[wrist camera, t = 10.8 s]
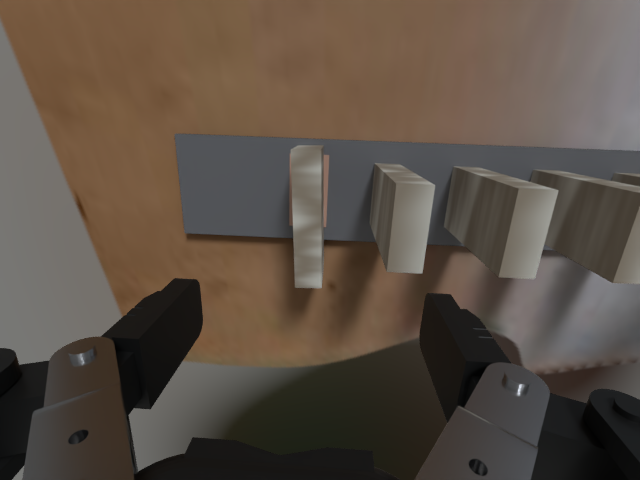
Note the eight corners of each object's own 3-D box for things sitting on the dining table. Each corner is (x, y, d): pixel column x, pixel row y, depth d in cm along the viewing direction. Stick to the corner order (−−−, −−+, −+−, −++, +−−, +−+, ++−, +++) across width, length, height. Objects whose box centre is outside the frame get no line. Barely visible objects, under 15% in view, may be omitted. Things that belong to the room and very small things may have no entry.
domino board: (679, 152, 32) (691, 153, 30) (643, 251, 35) (652, 255, 34) (179, 133, 33) (174, 133, 32) (188, 230, 36) (184, 233, 35)
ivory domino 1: (399, 164, 32) (435, 185, 21) (393, 224, 34) (422, 273, 23) (374, 163, 32) (396, 183, 21) (369, 223, 34) (386, 271, 23)
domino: (321, 149, 26) (321, 288, 30) (323, 145, 32) (323, 262, 36) (290, 149, 26) (294, 287, 30) (298, 145, 32) (301, 262, 36)
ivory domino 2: (478, 167, 32) (558, 190, 20) (467, 227, 34) (534, 279, 22) (453, 166, 32) (518, 188, 21) (443, 226, 34) (498, 277, 22)
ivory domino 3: (559, 170, 32) (684, 195, 20) (543, 231, 34) (649, 284, 22) (533, 169, 32) (644, 193, 20) (518, 229, 34) (612, 282, 22)
